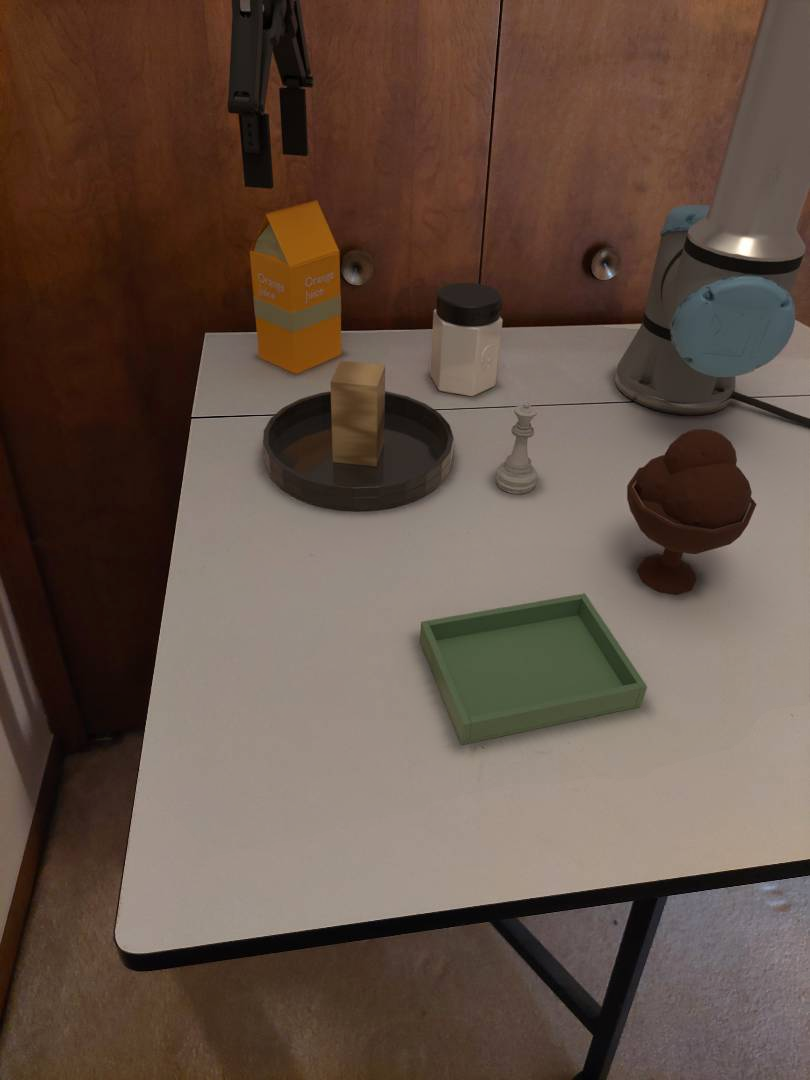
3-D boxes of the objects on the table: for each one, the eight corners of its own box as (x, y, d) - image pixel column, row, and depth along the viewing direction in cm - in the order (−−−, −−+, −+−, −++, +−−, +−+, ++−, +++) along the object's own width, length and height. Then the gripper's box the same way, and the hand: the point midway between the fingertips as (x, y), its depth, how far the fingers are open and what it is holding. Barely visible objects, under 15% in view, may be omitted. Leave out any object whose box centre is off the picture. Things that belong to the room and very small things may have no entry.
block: (384, 443, 93) (385, 364, 87) (376, 466, 89) (377, 385, 83) (341, 439, 94) (340, 360, 87) (332, 462, 90) (330, 381, 84)
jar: (462, 403, 102) (469, 313, 95) (417, 380, 107) (421, 293, 99) (507, 382, 107) (518, 295, 100) (463, 361, 112) (470, 276, 104)
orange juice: (342, 354, 112) (339, 206, 100) (295, 375, 107) (287, 220, 95) (304, 337, 116) (297, 192, 104) (257, 356, 111) (244, 206, 99)
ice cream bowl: (586, 555, 79) (616, 422, 70) (677, 530, 83) (717, 401, 73) (653, 626, 71) (696, 487, 62) (750, 595, 75) (804, 460, 66)
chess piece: (509, 498, 86) (521, 416, 80) (488, 477, 89) (497, 397, 83) (543, 488, 88) (556, 408, 82) (520, 468, 91) (532, 389, 85)
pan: (459, 420, 99) (461, 398, 97) (440, 521, 82) (442, 498, 81) (292, 403, 101) (291, 381, 99) (240, 499, 85) (238, 475, 83)
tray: (580, 612, 72) (585, 593, 71) (641, 706, 64) (647, 686, 63) (419, 641, 69) (420, 621, 67) (461, 745, 61) (463, 724, 59)
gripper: (263, -88, 81) (277, 140, 94) (168, -88, 62) (202, 199, 75) (335, -85, 81) (339, 145, 94) (262, -84, 61) (280, 206, 74)
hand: (278, 170), depth 84 cm, fingers open, 13 cm apart
